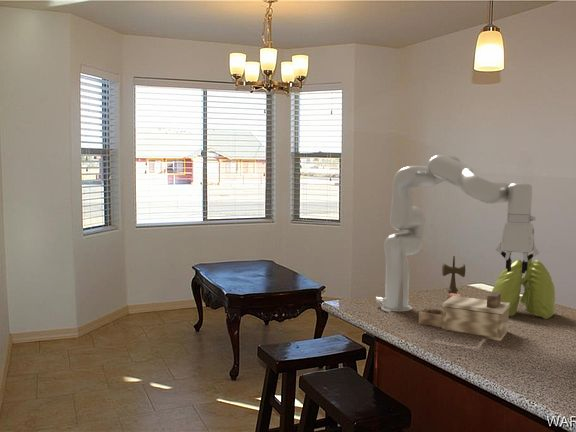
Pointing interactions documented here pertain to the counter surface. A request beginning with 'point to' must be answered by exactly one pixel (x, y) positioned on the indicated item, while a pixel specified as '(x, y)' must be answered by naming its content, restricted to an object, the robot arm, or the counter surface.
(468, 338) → the counter surface
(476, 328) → the wooden box
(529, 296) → the lungs
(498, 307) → the lid
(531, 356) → the counter surface
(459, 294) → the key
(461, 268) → the kendama
